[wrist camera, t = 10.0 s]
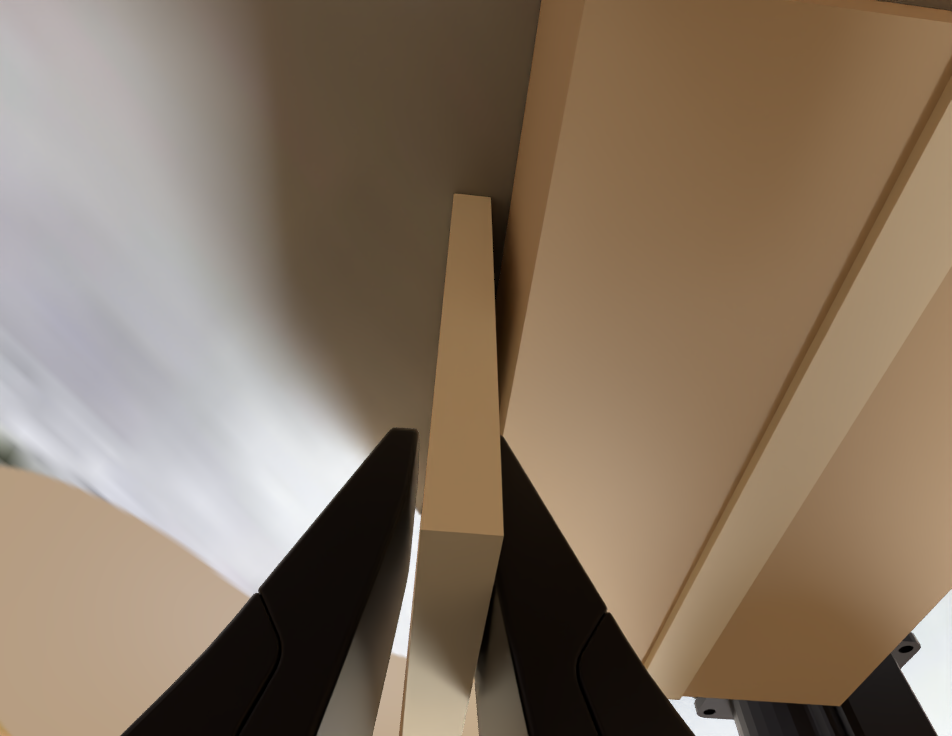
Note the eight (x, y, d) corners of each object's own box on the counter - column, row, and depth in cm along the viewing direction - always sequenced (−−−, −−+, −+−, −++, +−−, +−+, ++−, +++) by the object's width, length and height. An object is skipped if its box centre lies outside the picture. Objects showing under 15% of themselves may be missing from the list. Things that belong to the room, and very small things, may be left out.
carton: (766, 547, 20) (843, 714, 16) (461, 523, 19) (456, 689, 15) (1085, 29, 11) (1448, 92, 7) (548, -46, 11) (593, -26, 6)
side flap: (451, 526, 19) (434, 887, 12) (420, 524, 19) (384, 885, 12) (495, 197, 13) (513, 537, 6) (448, 192, 13) (409, 528, 6)
